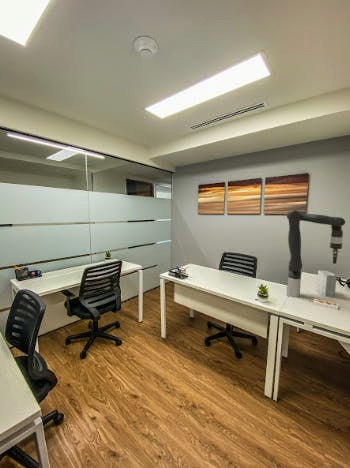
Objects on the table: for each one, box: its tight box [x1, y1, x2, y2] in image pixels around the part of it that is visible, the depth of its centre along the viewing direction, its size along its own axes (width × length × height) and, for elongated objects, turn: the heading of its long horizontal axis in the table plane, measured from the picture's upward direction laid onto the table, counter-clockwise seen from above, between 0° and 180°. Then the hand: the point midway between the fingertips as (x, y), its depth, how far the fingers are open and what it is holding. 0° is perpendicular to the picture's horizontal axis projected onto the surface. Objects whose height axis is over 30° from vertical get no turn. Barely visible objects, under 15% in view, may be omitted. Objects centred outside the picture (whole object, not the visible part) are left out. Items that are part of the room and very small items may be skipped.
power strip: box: [308, 298, 339, 311], centre depth 159 cm, size 18×7×3 cm, turn 51°
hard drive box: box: [316, 270, 338, 299], centre depth 180 cm, size 16×8×20 cm, turn 168°
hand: (334, 262), depth 164 cm, fingers open, 8 cm apart
